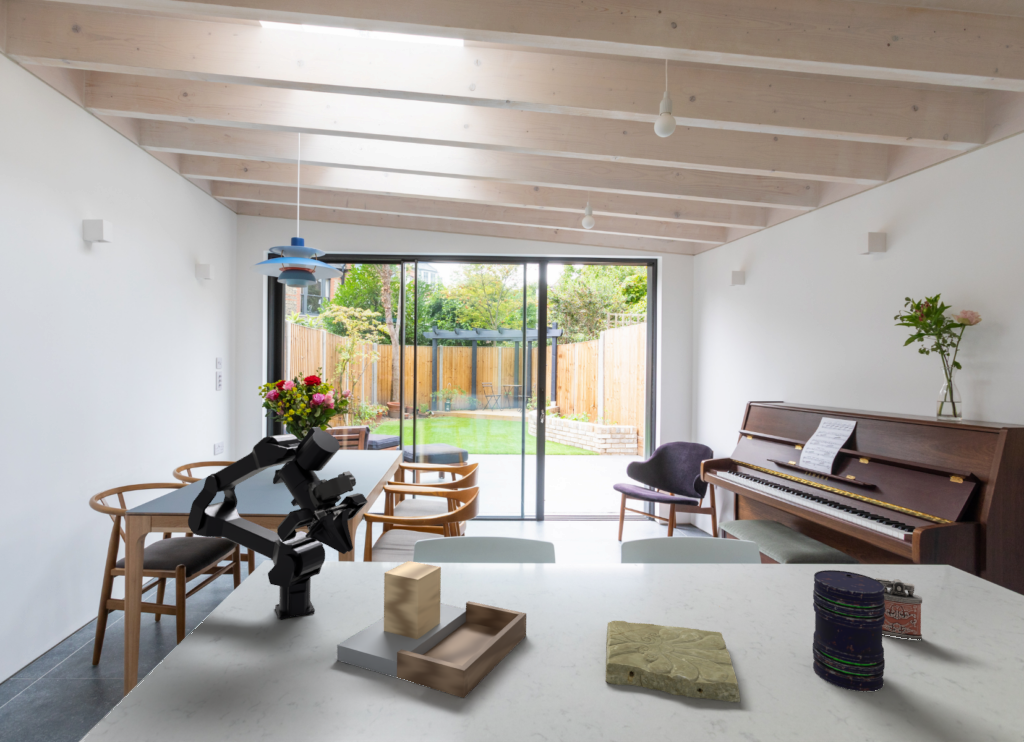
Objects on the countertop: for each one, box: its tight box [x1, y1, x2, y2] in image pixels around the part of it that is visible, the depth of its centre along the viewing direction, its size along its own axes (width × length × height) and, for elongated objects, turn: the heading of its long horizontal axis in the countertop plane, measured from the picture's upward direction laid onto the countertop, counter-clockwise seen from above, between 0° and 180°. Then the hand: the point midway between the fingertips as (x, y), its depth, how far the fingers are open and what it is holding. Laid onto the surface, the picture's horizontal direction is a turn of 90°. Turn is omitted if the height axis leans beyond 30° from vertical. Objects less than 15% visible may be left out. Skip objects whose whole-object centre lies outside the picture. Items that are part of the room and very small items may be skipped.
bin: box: [397, 600, 527, 699], centre depth 95 cm, size 12×22×4 cm, turn 154°
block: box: [383, 560, 442, 639], centre depth 100 cm, size 7×7×10 cm
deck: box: [336, 602, 466, 678], centre depth 100 cm, size 12×22×2 cm, turn 154°
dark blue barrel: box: [812, 569, 886, 693], centre depth 90 cm, size 10×10×15 cm
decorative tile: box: [604, 620, 741, 703], centre depth 93 cm, size 19×20×4 cm
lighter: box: [874, 577, 923, 640], centre depth 104 cm, size 8×3×10 cm, turn 65°
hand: (348, 551), depth 106 cm, fingers closed
